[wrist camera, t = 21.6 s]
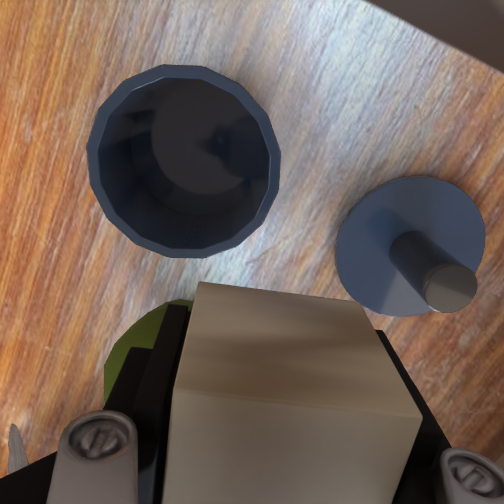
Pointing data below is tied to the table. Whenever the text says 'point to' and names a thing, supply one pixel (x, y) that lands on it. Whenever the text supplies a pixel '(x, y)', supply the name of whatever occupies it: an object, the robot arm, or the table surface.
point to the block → (285, 404)
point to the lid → (411, 247)
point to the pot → (183, 161)
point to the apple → (136, 341)
